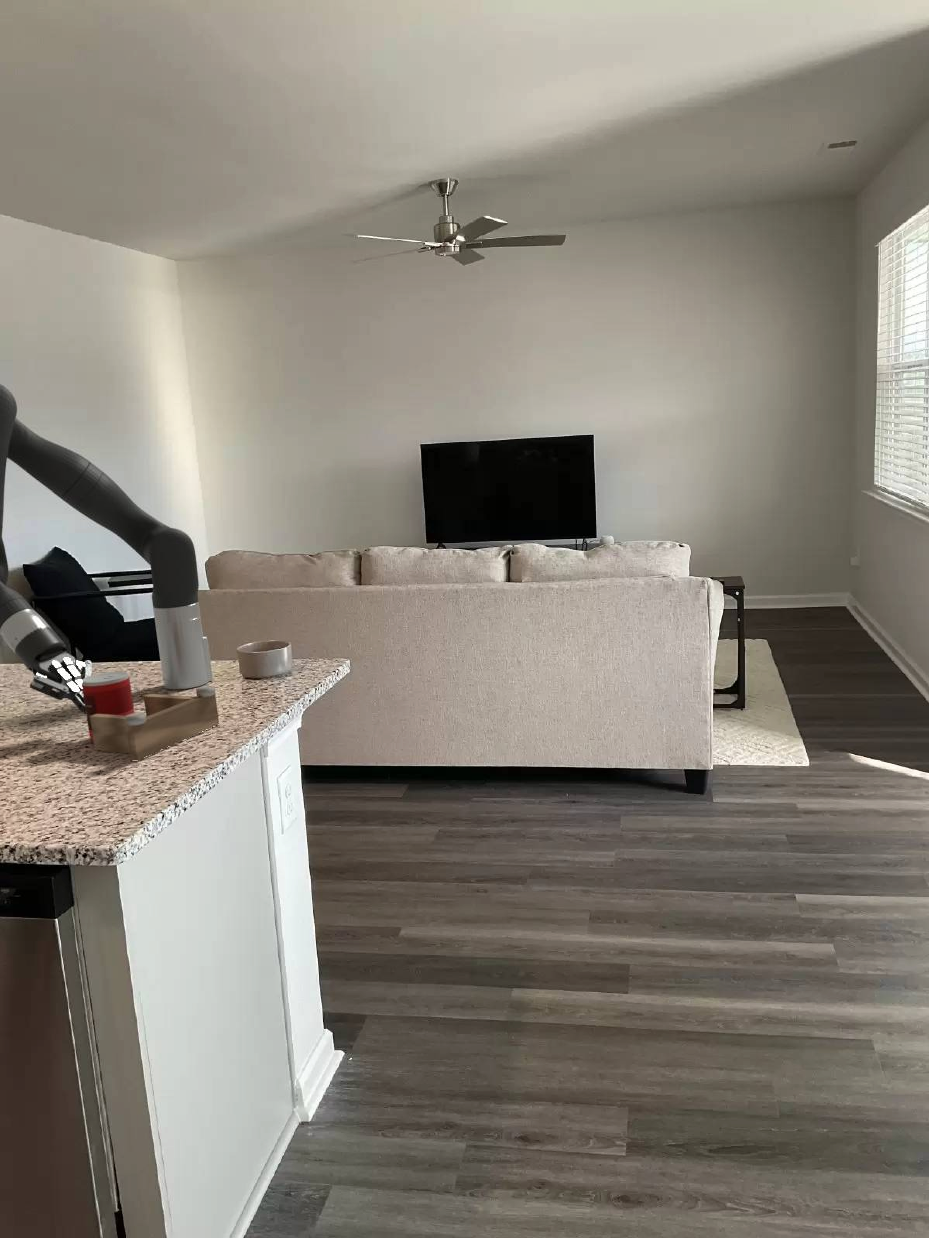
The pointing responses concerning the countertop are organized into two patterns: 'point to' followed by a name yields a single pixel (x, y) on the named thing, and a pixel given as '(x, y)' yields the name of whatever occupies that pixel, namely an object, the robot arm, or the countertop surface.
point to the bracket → (156, 723)
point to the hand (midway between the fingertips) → (91, 709)
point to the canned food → (107, 695)
